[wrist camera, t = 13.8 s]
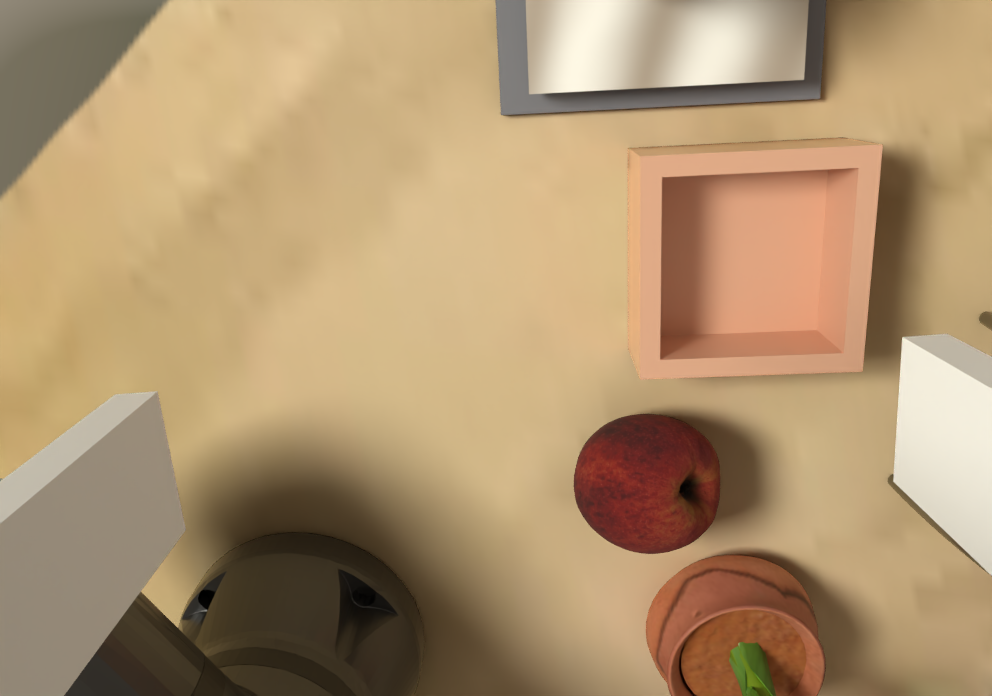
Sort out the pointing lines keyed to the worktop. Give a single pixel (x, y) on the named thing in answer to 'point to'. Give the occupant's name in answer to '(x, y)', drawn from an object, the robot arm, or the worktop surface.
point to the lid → (662, 43)
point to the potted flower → (735, 631)
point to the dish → (750, 257)
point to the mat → (522, 102)
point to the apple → (648, 483)
